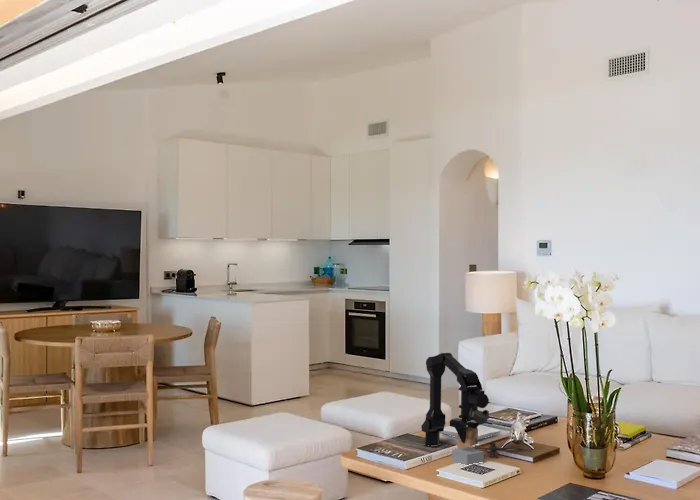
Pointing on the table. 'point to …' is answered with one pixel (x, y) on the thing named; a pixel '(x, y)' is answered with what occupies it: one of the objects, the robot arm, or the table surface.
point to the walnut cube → (469, 437)
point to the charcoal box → (467, 455)
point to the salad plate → (453, 432)
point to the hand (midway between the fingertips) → (467, 441)
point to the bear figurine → (491, 449)
